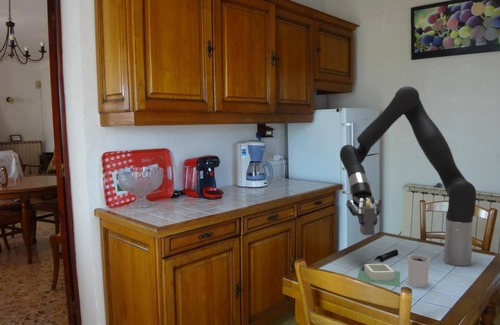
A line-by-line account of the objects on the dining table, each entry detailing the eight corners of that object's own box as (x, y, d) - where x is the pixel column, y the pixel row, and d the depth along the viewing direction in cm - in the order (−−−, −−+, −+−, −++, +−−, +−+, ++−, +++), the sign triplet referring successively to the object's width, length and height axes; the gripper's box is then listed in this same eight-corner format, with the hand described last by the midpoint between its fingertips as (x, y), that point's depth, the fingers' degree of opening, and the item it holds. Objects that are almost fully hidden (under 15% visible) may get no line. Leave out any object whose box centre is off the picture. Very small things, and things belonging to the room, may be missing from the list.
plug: (370, 231, 148) (371, 199, 147) (374, 234, 144) (375, 202, 143) (360, 232, 148) (360, 200, 147) (363, 235, 144) (364, 202, 143)
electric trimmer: (400, 257, 161) (401, 250, 161) (381, 265, 151) (381, 257, 151) (392, 255, 164) (392, 247, 164) (372, 263, 154) (373, 255, 154)
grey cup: (404, 282, 135) (405, 254, 134) (424, 283, 134) (425, 255, 133) (410, 290, 128) (411, 261, 127) (431, 291, 128) (432, 261, 127)
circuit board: (399, 274, 142) (400, 270, 142) (399, 289, 129) (399, 285, 129) (360, 269, 147) (360, 265, 147) (356, 283, 134) (356, 278, 134)
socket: (385, 271, 142) (385, 263, 142) (394, 280, 134) (395, 272, 134) (363, 271, 141) (364, 263, 141) (371, 280, 134) (372, 272, 133)
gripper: (344, 181, 152) (352, 219, 141) (379, 181, 152) (391, 218, 141) (340, 192, 157) (348, 229, 147) (374, 192, 158) (385, 229, 147)
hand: (369, 224), depth 144 cm, fingers closed on plug, 4 cm apart
